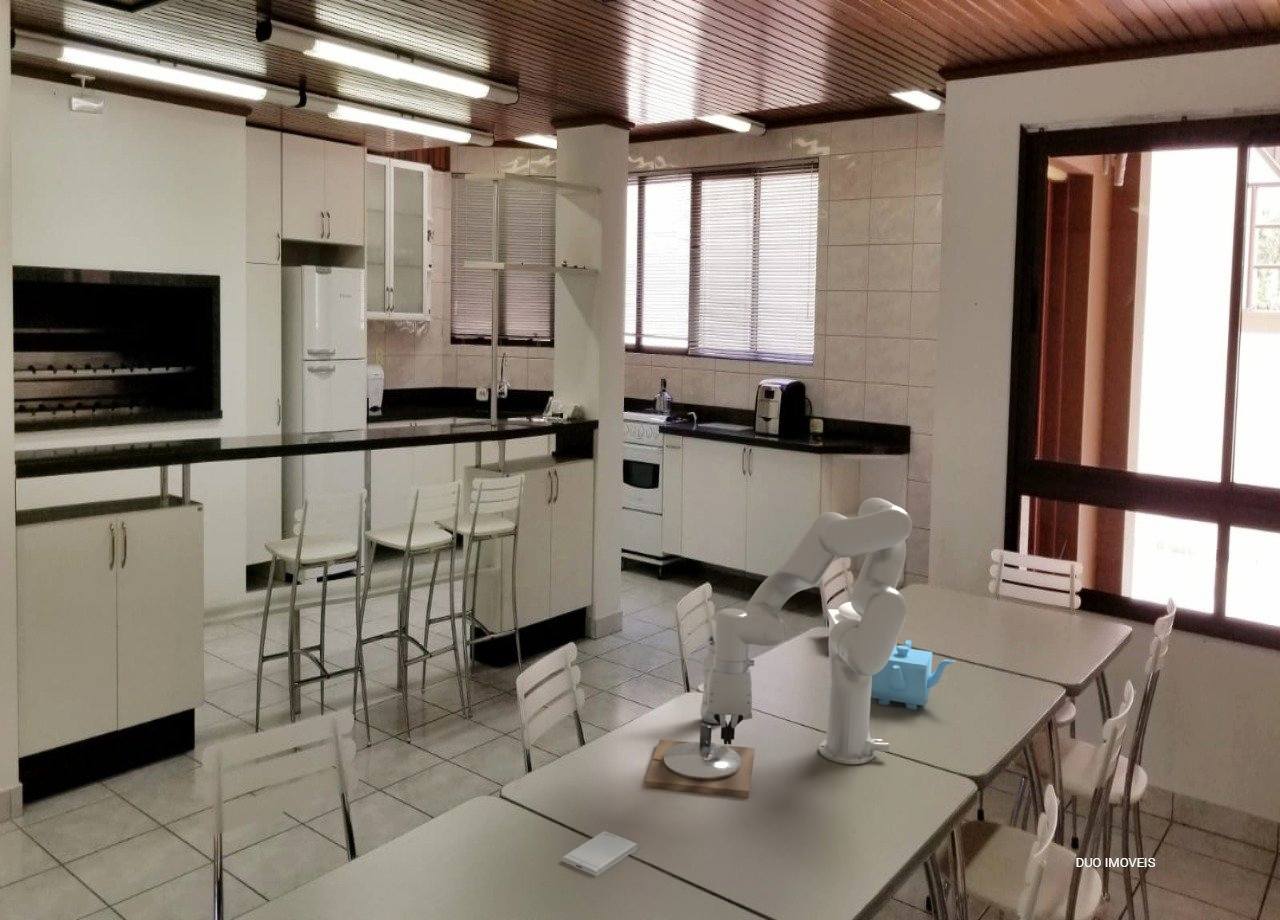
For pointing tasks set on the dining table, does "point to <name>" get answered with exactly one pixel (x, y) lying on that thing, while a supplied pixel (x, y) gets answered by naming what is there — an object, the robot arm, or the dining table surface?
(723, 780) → the dial base
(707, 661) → the plastic bottle
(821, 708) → the dining table surface
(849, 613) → the butter dish
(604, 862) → the hard drive
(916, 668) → the teakettle
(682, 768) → the dial
